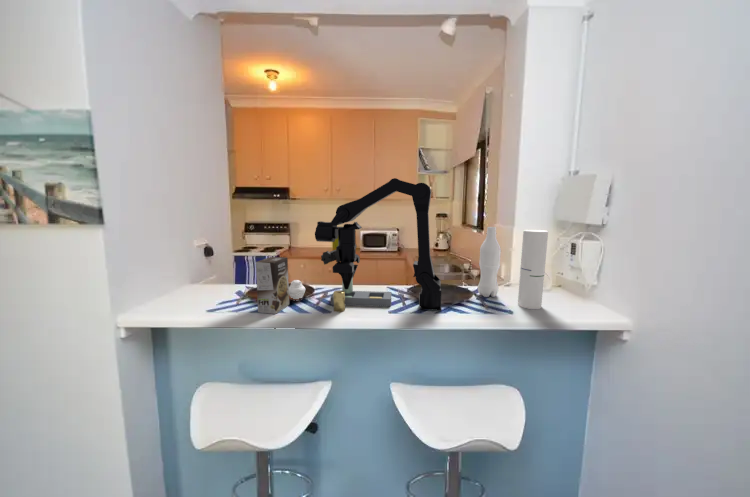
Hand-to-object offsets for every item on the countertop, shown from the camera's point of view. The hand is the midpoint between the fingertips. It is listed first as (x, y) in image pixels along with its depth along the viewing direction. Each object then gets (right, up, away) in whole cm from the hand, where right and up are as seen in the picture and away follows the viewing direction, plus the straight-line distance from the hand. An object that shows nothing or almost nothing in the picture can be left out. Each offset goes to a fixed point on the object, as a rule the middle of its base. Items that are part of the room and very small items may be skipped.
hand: (347, 287), depth 109 cm
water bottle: (+51, -4, +8) cm, 51 cm away
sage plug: (0, -2, 0) cm, 2 cm away
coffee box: (-23, -6, -7) cm, 25 cm away
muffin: (-18, -5, +3) cm, 19 cm away
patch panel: (+5, -5, 0) cm, 7 cm away
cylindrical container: (+61, -6, -3) cm, 61 cm away
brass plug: (-2, -6, -8) cm, 10 cm away
